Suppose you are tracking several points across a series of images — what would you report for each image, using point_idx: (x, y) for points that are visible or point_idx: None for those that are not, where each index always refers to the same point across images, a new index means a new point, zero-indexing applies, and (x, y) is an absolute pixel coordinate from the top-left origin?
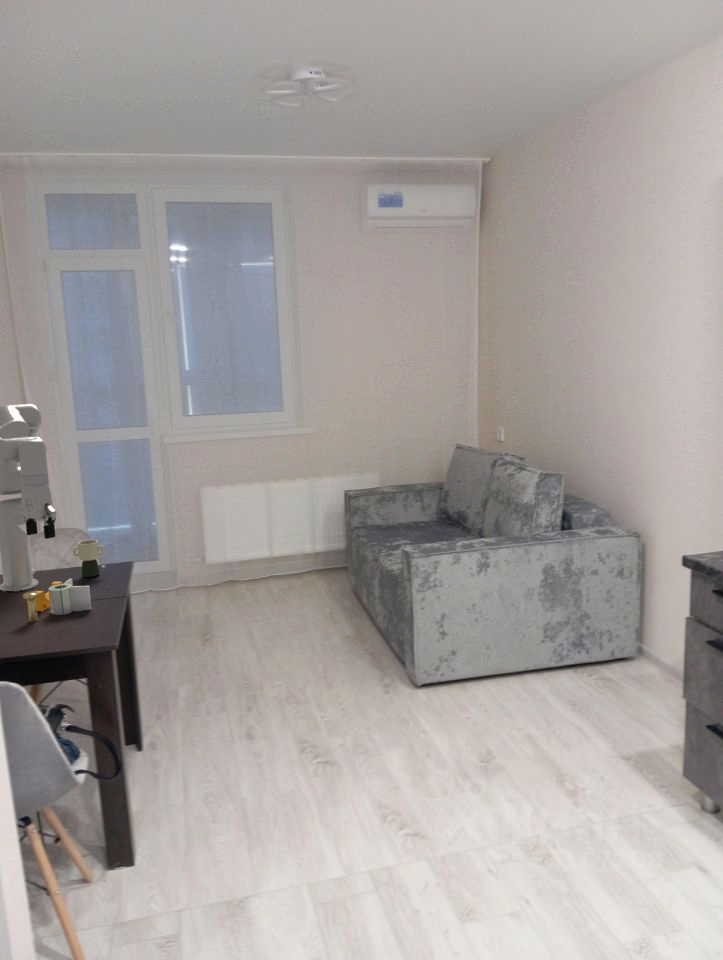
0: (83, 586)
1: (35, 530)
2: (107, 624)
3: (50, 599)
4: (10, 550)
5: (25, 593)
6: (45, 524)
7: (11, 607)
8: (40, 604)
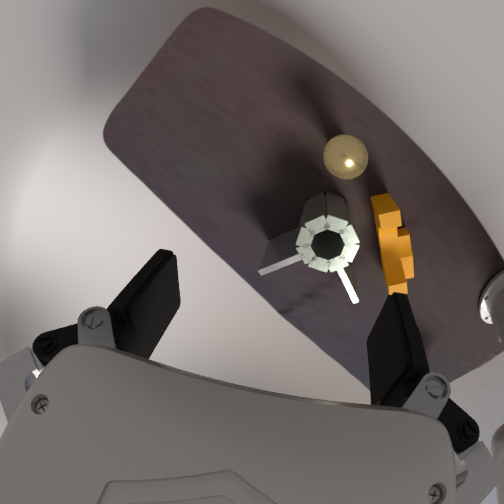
0: (270, 267)
1: (372, 347)
2: (171, 195)
3: (339, 208)
4: None
5: (364, 154)
6: (101, 317)
7: (456, 198)
8: (375, 202)
